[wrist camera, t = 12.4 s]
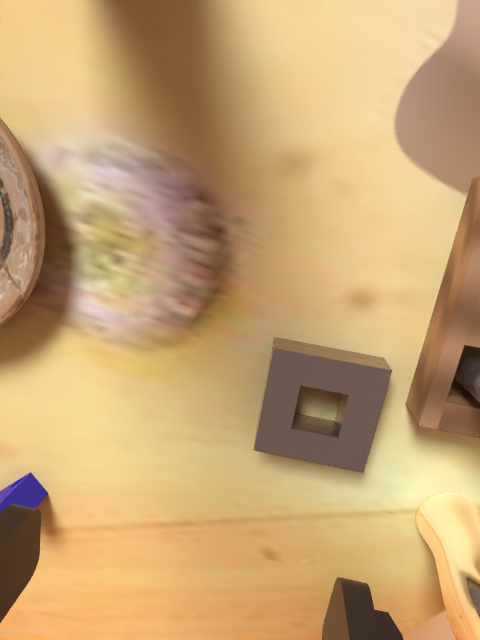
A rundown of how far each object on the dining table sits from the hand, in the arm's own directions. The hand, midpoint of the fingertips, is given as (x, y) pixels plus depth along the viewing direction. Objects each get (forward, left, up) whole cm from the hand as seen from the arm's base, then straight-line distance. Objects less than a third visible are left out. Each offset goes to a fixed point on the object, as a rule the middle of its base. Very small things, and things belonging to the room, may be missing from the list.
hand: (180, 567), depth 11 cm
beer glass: (+17, +22, -28) cm, 40 cm away
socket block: (+7, +7, -28) cm, 30 cm away
